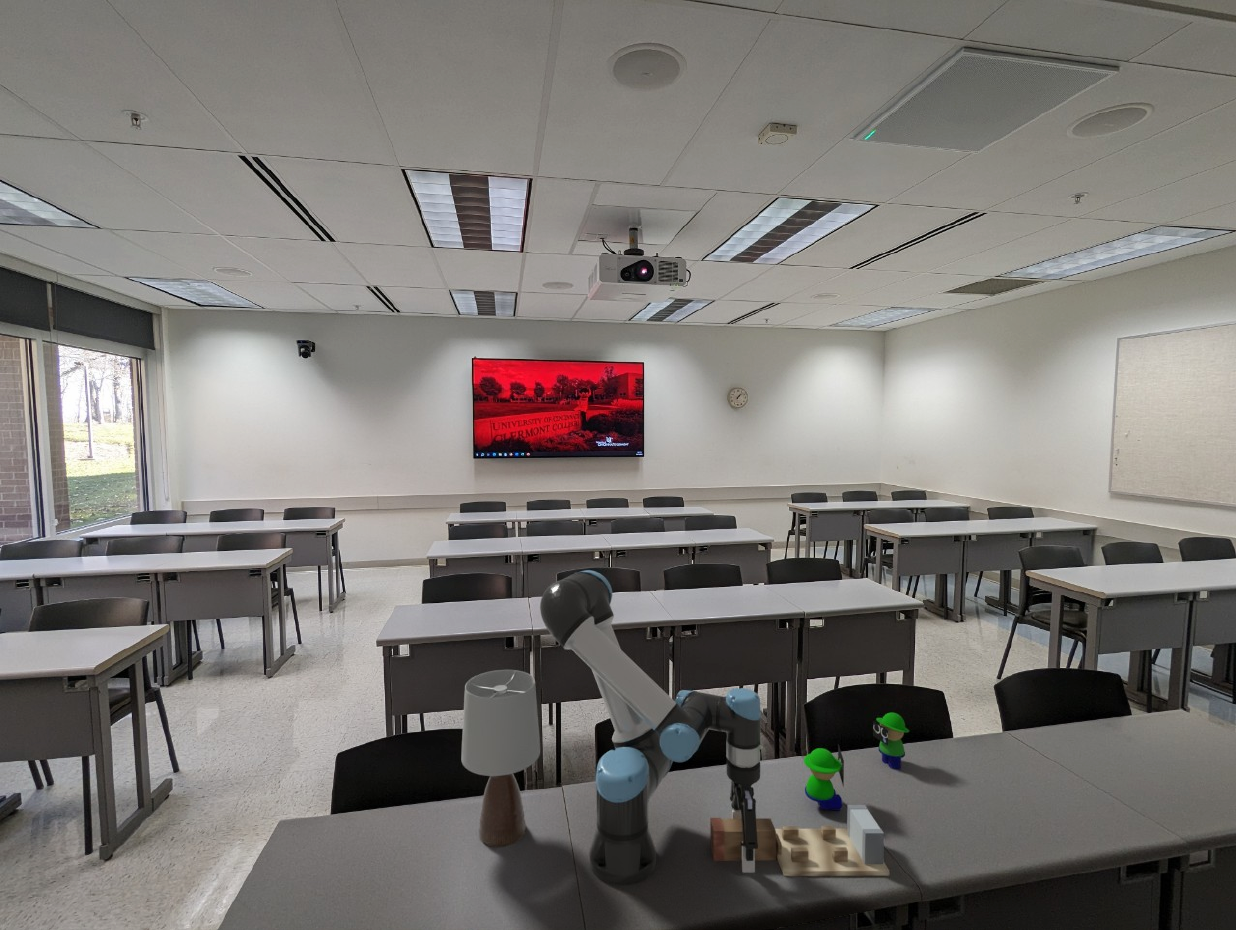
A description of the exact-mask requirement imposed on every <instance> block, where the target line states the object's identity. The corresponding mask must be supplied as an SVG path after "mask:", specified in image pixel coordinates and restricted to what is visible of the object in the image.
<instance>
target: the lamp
mask: <svg viewBox="0 0 1236 930" xmlns="http://www.w3.org/2000/svg"><path fill="white" fill-rule="evenodd" d="M535 680H536V679H535V678H534V677H533V675H531V674H530V673H528V672H526V671H522V670H515V669H498V670H491V671H486V672H483V673H482V672H481V673H480V674H478V675H475V676H474V677H470V679H469V680H468V681H467V682H466V683H465V685H464V697H463V701H464V702H463V717H462V720H463V721H462V736H461V737H462V738H461V739H462V740H461V755H460V756H461V759H460V760H461V763H462V766H463V767H464V768H465V769H467V771H468V772H471V773H473V774H476V775H479V776H487V777H489V778H488V781H487V783H486V785H485V788H484V793H483V798H482V803H481V810H480V816H479V817H480V818H479V826H478V827H479V828H478V837H479V839H480V842H482V843H483V844H484V845H485V846H490V847H493V848H495V847H496V848H501V847H507V846H511V845H513V844H515V843H517V842H518V841H519V840H520V841H521V839H522V838H523V836H524V835H525V832H526V819H525V810H524V806H523V800H522V794H521V790H520V787H519V784H518V782H517V779H516V777H515V775H514V774H516V773H519V772H521V771H523V770H525V769H527V768H529V767H530V766H532V765H534V763H535V762H536V761H538V759H539V757H540V755H541V742H540V741H541V740H540V728H539V716H538V702H537V701H538V700H537V690H536V681H535Z"/></svg>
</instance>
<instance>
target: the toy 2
mask: <svg viewBox="0 0 1236 930" xmlns="http://www.w3.org/2000/svg"><path fill="white" fill-rule="evenodd" d="M909 732H910V730H909V729H908V728H907V727H906V724H905V721H904V718H903V717H902V716H901V715H900V714H898V713H896V712H888V713H885V714H884V716H882V717H877V718H876V720H872V736H873V737H874V738H876V739H877V740H878V741H880V742H879V746H878V752H879V753H880V754H881V761H882V762H883V763H884V764H887V766H888V767H889V768H890V769H892V770H901V768H902V758H904V757H905V756H906V752H905V747H904V743H903V741H902V738H903V737H904V734H905V733H909Z"/></svg>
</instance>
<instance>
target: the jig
mask: <svg viewBox="0 0 1236 930" xmlns="http://www.w3.org/2000/svg"><path fill="white" fill-rule="evenodd" d="M775 830H776V859H777V862H778V864H779V867H780V869H781V872H782V874H783V876H784V877H807V876H809V877H812V876H813V877H817V876H818V877H819V876H820V877H827V876H830V877H836V876H837V877H838V876H839V877H846V876H849V877H850V876H853V877H855V876H859V877H860V876H861V877H862V876H864V877H865V876H867V877H868V876H869V877H870V876H873V877H874V876H879V877H880V876H890V870H889V868H888V866H887V865H886V863H885V862H884V860H883V864H864V862H863V860H862V858H861V857H860V855H859V853H858V851H857V850H856V848H855V846H854V845H853V843H852V841H851V839H850V838H849V836H848V835H847V828H846V827H845V828H839V827H837V828H836V827H835V826H834V825H821V827H820V828H799V827H798V826H797V825H796V826H793V825H792V826H791V825H790V826H788V825H787V826H786V825H784V826H781V828H775Z"/></svg>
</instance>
